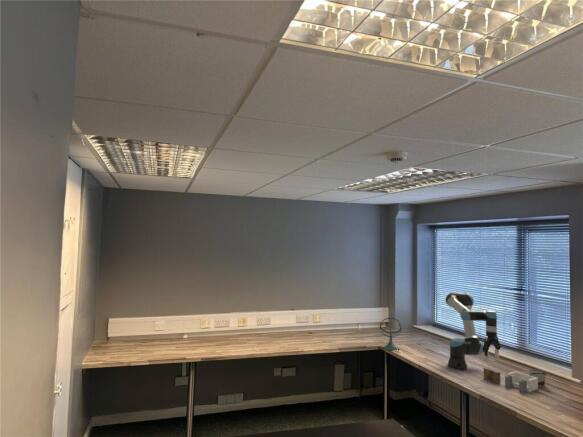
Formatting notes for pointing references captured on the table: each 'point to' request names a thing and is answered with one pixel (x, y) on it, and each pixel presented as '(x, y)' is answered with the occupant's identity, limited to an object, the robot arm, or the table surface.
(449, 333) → the table surface
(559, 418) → the table surface
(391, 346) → the armillary sphere
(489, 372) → the door
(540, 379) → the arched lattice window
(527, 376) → the carcass
